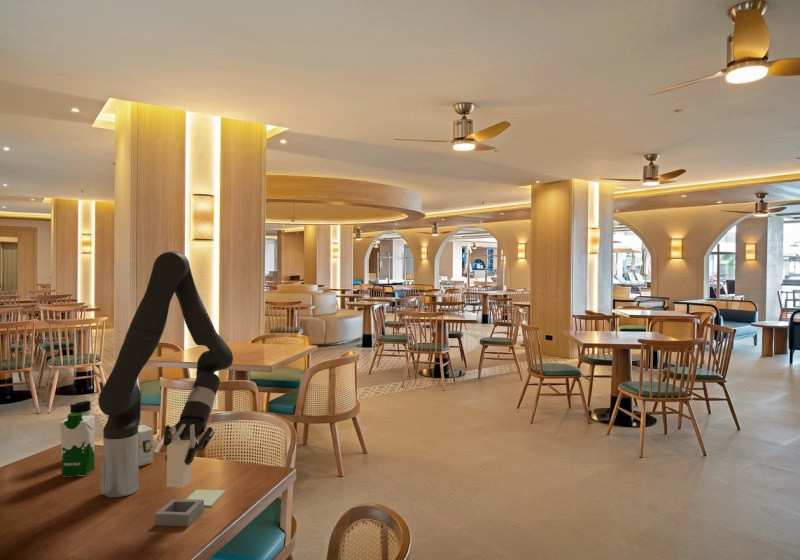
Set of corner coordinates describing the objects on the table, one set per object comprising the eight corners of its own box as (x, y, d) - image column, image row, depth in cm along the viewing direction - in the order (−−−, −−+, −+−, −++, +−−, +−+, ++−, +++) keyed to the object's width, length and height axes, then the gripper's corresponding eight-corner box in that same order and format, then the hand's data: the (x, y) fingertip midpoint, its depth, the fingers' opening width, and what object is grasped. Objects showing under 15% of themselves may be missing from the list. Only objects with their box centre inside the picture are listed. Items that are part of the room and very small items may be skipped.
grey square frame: (155, 525, 137) (155, 513, 137) (172, 509, 146) (172, 498, 146) (188, 526, 136) (188, 515, 136) (203, 510, 145) (203, 499, 145)
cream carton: (166, 486, 139) (167, 445, 138) (175, 479, 143) (175, 440, 143) (183, 487, 138) (183, 446, 138) (191, 480, 143) (191, 440, 143)
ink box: (128, 461, 183) (127, 427, 183) (143, 457, 187) (142, 424, 187) (139, 467, 177) (138, 432, 177) (154, 462, 181) (153, 428, 181)
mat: (180, 505, 148) (180, 504, 148) (196, 490, 158) (196, 489, 158) (211, 506, 147) (211, 505, 147) (225, 491, 157) (225, 490, 157)
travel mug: (82, 460, 183) (81, 404, 183) (66, 459, 185) (65, 403, 184) (96, 454, 189) (95, 399, 189) (80, 453, 191) (80, 398, 190)
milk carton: (57, 479, 167) (56, 416, 167) (71, 468, 176) (70, 409, 176) (86, 477, 168) (85, 415, 168) (98, 467, 177) (98, 408, 177)
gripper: (170, 398, 149) (146, 455, 137) (218, 400, 148) (199, 458, 136) (179, 412, 155) (157, 468, 143) (226, 414, 154) (207, 470, 142)
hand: (177, 462), depth 140 cm, fingers closed on cream carton, 4 cm apart
